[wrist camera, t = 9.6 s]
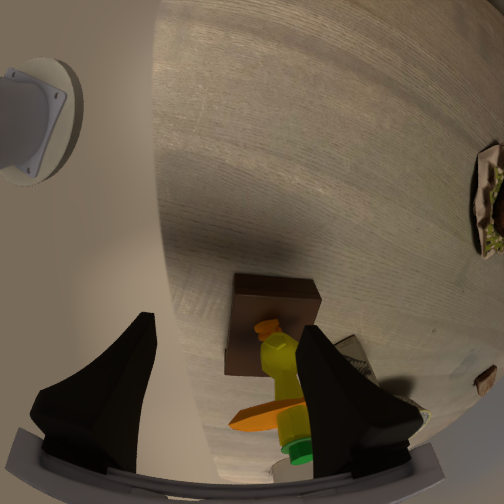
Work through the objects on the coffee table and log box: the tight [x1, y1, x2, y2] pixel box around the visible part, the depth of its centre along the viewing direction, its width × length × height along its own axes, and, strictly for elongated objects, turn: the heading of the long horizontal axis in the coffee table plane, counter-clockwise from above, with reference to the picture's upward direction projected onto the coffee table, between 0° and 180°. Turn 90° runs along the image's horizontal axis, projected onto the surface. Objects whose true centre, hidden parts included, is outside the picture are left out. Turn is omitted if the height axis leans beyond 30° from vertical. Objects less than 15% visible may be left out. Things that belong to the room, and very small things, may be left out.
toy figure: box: [228, 319, 313, 465], centre depth 17 cm, size 7×4×12 cm, turn 111°
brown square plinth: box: [224, 274, 322, 377], centre depth 24 cm, size 10×7×3 cm
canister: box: [272, 458, 313, 497], centre depth 38 cm, size 16×16×20 cm
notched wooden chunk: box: [476, 366, 497, 396], centre depth 40 cm, size 7×6×5 cm
